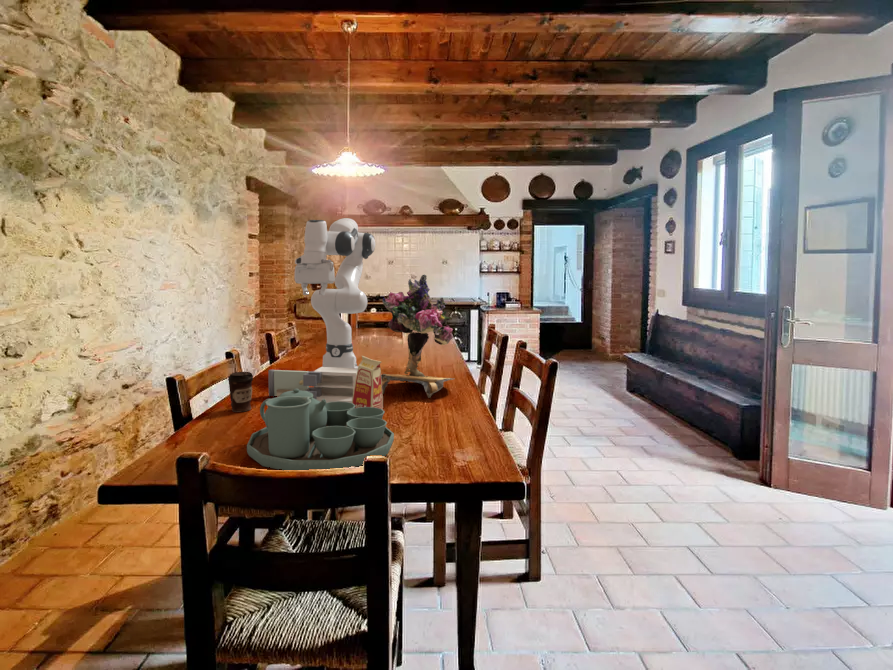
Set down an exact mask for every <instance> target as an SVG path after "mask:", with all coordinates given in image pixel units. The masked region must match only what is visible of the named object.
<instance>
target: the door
mask: <svg viewBox="0 0 893 670" xmlns="http://www.w3.org/2000/svg"><path fill="white" fill-rule="evenodd" d="M307 372H309V370H307V371H306V370H287V369H285V370H284V369H283V370H281V369H269V370H268V397H270V396H273V397H274V396H277V389H283V390H294V389H299V390H303V391H305V390H306V389H308V388H309V387H310V386H303V375H304V374H306V373H307Z"/></svg>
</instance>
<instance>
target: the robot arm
mask: <svg viewBox="0 0 893 670" xmlns="http://www.w3.org/2000/svg"><path fill="white" fill-rule="evenodd" d="M305 224H306V225H305V228H304V229H305V230H304V241H303V243H304V250H303V254H302V255H300V256H298V257H297V258H295V259H294V264H295V267H294V281H295V284H299V285H300V286H301V289H302V295H303V296H309V295H310V291H309V290H308V288H307V287H308V285H309V284H312V285H313V284H314V285H316V284H320V286H321V288H320V289H316V290H315V291H313V293H312V294H311V297H310V304H311V307H312V309H313V310H315V311H316V312H317V313H318V314H319V315H320V316H321V318H322V320H323V322H324V325H325V327H326V344H325V353H324V354H323V355H322V367H336V368H358V366H359V365H358V364H357V357H356V355H355V353H354V342H352V338H353V337H352V331H353V330H352V326H351V325H350V324H349V323H348V322H347V321H345V320H343V319H342V318H341V316H340V314H345V315H346V314H349V315H350V314H351V315H353V314H359V313H363V312H365V310H366V309H367V306H368V297H367V294H366V293H365V292H364V291H363V290H361V289H360V288H359V283H360V282H361V281H360V280H361V277H362V274H363V269H364V268H363V267H364V261H363V260H367V259H369V257H370V256H371V255H372V254H373V253H374V252H375V250H376V239H375V236H374V235H373V234H372V233H370V232H359V225H358V223H357V221H355V220H354V219H353V218H347V217H345V218H344V217H343V218H340V219H337V220H336V221H333V223H331V224H330V227H329V229H328V227H327V221H326V220H323V219H309V220H307V221H306V223H305ZM327 256H342V257H343V256H344V257H345V258H344V259H343V260H342V262H341V263H340V265H339V267H338V270H337V272H336V275H335V267H334V262H333V261H332V260H331V259H327ZM328 284H334V286H335V287H336V288H328Z"/></svg>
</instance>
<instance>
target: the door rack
mask: <svg viewBox="0 0 893 670" xmlns="http://www.w3.org/2000/svg"><path fill="white" fill-rule="evenodd" d="M288 391H293V390H283V389H277V397H279V396H280V395H281V394H282V393H284V392H288ZM302 391H303V390H302Z"/></svg>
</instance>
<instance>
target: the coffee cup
mask: <svg viewBox="0 0 893 670" xmlns="http://www.w3.org/2000/svg"><path fill="white" fill-rule="evenodd" d="M253 377H254V374H253V373H252V372H251V371H236V372H232V373H230V374H229V376H228V378H227V381H228V388H229V397H230V402H231V403H230V406H231V410H232V412H233V413H234V412H235V413H238V412H239V413H240V412H247V411H251V409H252V405H251V404H252V403H251V401H252V396H253V385H252V384H253V383H252V382H253V379H254V378H253Z"/></svg>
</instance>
